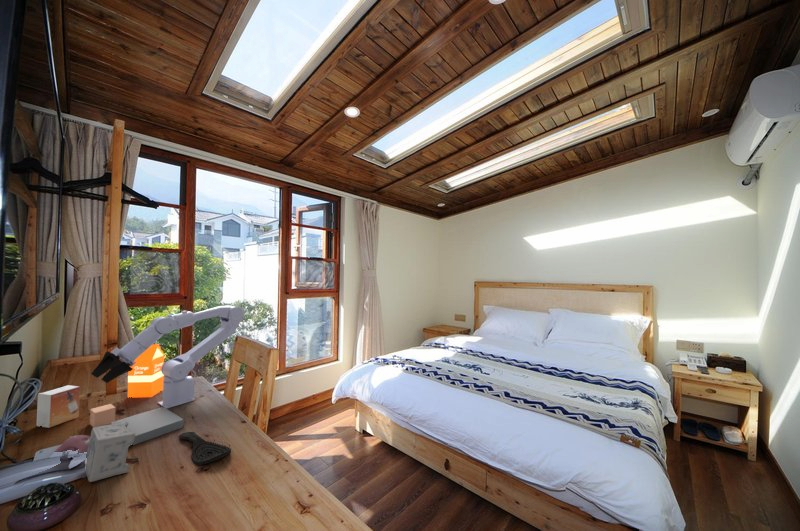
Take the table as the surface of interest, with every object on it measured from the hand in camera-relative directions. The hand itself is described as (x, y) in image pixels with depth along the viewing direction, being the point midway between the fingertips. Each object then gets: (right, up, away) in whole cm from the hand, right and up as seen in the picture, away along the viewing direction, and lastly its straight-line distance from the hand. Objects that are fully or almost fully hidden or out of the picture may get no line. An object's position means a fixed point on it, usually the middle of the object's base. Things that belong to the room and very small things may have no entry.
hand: (99, 378), depth 101 cm
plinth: (+17, -15, -2) cm, 23 cm away
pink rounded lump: (+11, -15, -19) cm, 26 cm away
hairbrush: (+41, -16, -12) cm, 46 cm away
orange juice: (-5, -16, +25) cm, 30 cm away
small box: (-15, -15, +2) cm, 21 cm away
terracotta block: (0, -15, +1) cm, 15 cm away
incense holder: (+24, -15, -22) cm, 36 cm away
